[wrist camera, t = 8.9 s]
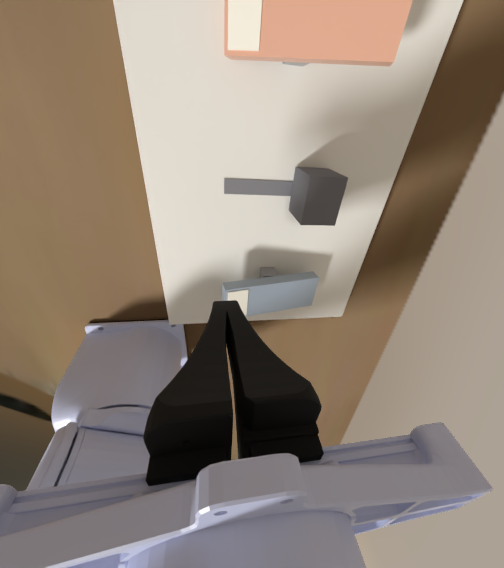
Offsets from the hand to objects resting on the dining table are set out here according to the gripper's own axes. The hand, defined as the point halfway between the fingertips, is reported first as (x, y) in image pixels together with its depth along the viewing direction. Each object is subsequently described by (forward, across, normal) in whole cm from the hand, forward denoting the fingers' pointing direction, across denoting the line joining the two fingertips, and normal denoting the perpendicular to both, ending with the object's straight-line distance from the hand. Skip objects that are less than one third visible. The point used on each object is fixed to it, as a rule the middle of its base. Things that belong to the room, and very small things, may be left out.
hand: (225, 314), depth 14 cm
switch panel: (+9, -4, -5) cm, 11 cm away
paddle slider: (+7, -6, -5) cm, 11 cm away
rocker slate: (+5, -4, +3) cm, 7 cm away
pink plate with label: (+5, -4, -13) cm, 15 cm away
